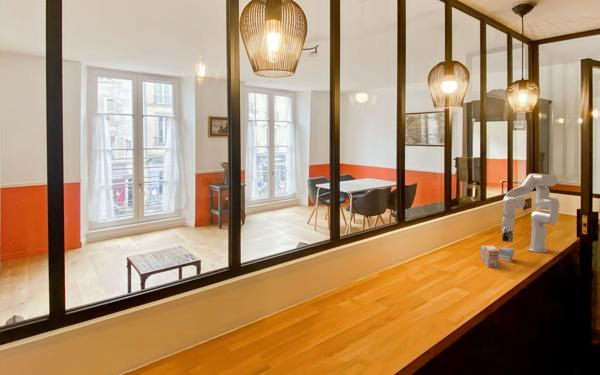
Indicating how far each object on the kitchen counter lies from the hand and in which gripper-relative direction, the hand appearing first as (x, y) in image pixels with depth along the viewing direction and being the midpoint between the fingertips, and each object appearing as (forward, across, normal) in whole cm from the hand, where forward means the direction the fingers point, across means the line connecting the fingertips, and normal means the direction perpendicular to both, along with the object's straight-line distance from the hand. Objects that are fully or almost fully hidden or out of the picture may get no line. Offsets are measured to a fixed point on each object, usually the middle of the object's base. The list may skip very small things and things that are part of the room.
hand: (507, 240), depth 274 cm
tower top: (+11, -1, 0) cm, 11 cm away
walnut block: (+1, 0, 0) cm, 1 cm away
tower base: (+15, 0, 0) cm, 15 cm away
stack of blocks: (+15, +16, -4) cm, 23 cm away
